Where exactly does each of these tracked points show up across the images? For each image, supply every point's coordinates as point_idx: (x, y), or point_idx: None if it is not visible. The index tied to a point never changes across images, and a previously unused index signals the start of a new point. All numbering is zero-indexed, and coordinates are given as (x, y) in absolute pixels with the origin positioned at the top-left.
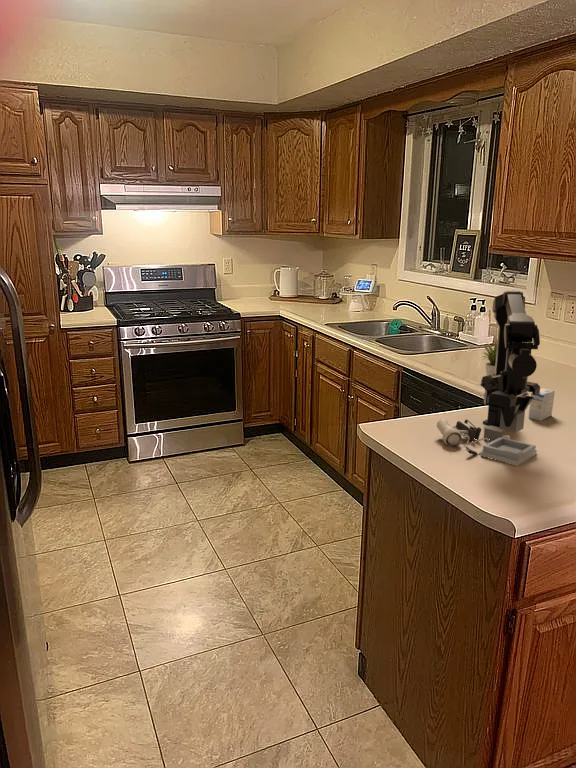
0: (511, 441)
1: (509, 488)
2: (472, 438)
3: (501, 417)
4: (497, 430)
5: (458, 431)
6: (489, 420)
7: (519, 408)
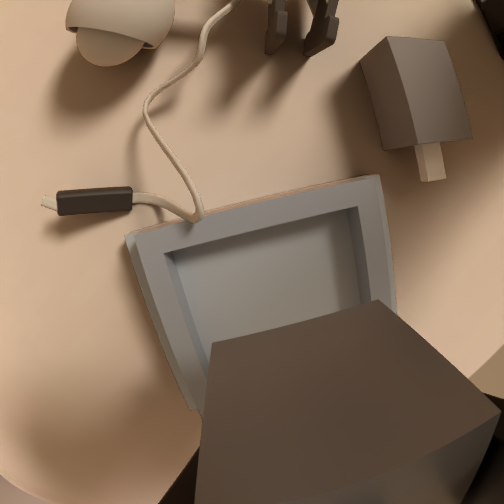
0: (365, 267)
1: (56, 452)
2: (267, 43)
3: (204, 440)
4: (421, 113)
5: (121, 17)
6: (491, 6)
7: (481, 495)
